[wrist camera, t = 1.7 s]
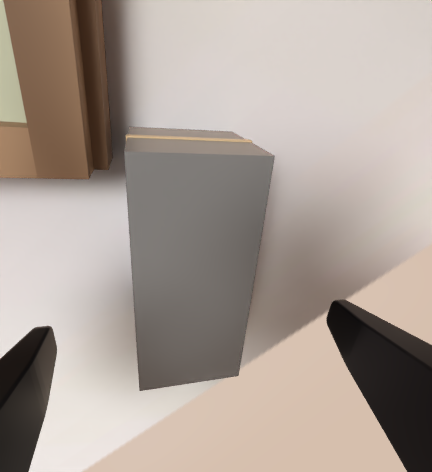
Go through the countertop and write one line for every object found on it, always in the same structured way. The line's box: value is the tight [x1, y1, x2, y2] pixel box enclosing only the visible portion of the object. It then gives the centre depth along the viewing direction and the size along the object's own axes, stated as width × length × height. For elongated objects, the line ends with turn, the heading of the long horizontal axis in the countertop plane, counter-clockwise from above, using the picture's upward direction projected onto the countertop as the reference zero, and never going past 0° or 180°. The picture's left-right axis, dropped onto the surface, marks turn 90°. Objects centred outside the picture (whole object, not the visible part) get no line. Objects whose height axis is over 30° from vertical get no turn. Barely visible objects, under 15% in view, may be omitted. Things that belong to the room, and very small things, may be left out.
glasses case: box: [124, 127, 275, 391], centre depth 13 cm, size 4×10×5 cm, turn 176°
